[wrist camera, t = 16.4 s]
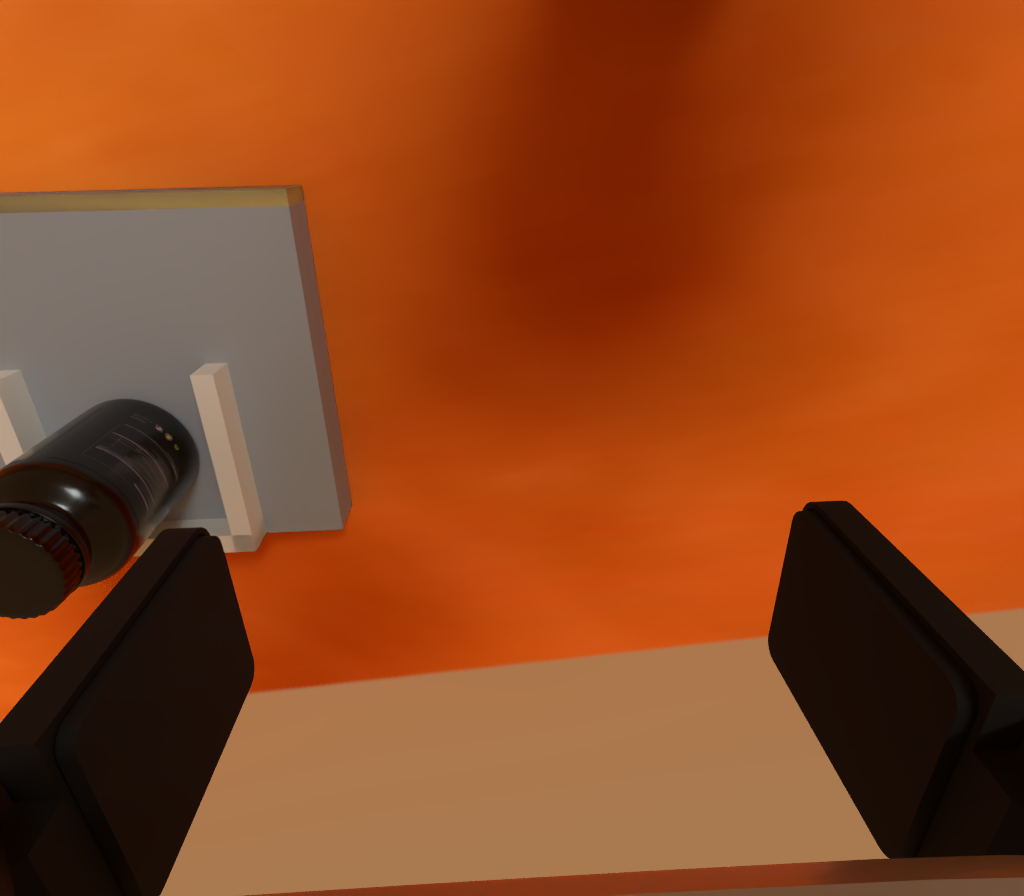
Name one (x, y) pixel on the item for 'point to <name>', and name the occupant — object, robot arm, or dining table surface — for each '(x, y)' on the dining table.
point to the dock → (179, 342)
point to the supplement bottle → (88, 501)
